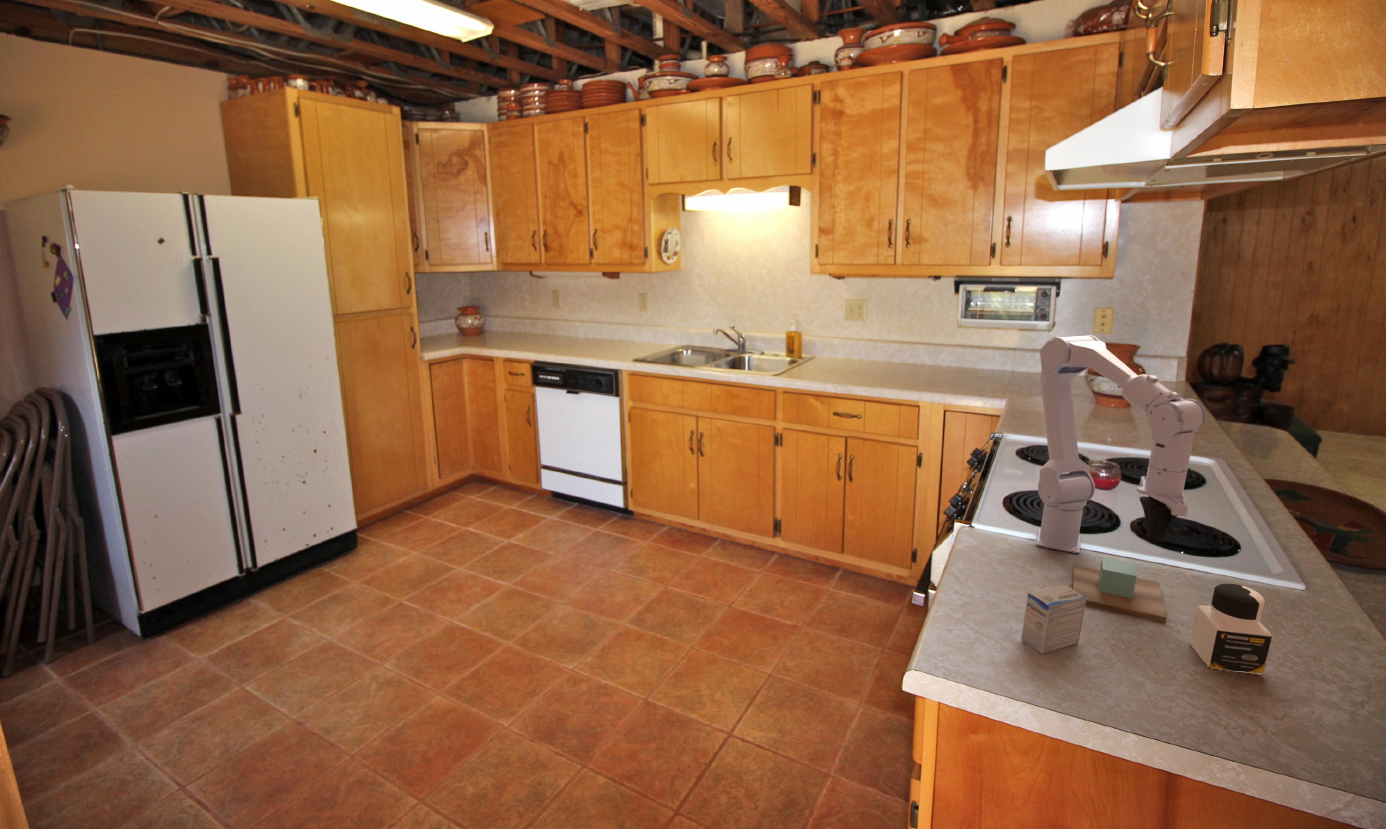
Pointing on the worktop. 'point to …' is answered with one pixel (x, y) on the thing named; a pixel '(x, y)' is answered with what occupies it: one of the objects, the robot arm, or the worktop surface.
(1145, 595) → the board
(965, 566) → the worktop surface
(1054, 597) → the medicine box
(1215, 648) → the medicine bottle
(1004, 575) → the worktop surface
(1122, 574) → the sage green cube
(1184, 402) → the robot arm
